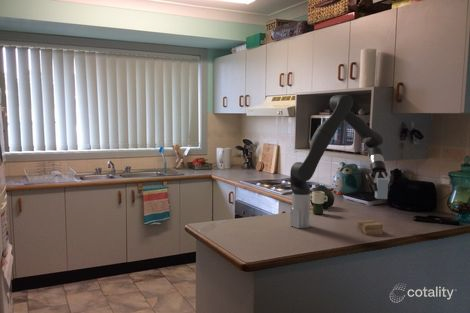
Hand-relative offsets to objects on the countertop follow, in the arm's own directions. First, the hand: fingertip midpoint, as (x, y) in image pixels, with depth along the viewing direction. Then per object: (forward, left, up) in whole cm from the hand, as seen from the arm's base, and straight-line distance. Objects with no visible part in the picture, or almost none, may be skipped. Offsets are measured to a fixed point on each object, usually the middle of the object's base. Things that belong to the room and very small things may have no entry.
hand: (382, 190), depth 208 cm
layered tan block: (-10, 0, -20) cm, 22 cm away
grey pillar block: (+1, +1, -4) cm, 5 cm away
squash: (+16, +51, -20) cm, 57 cm away
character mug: (+1, +41, -20) cm, 46 cm away
